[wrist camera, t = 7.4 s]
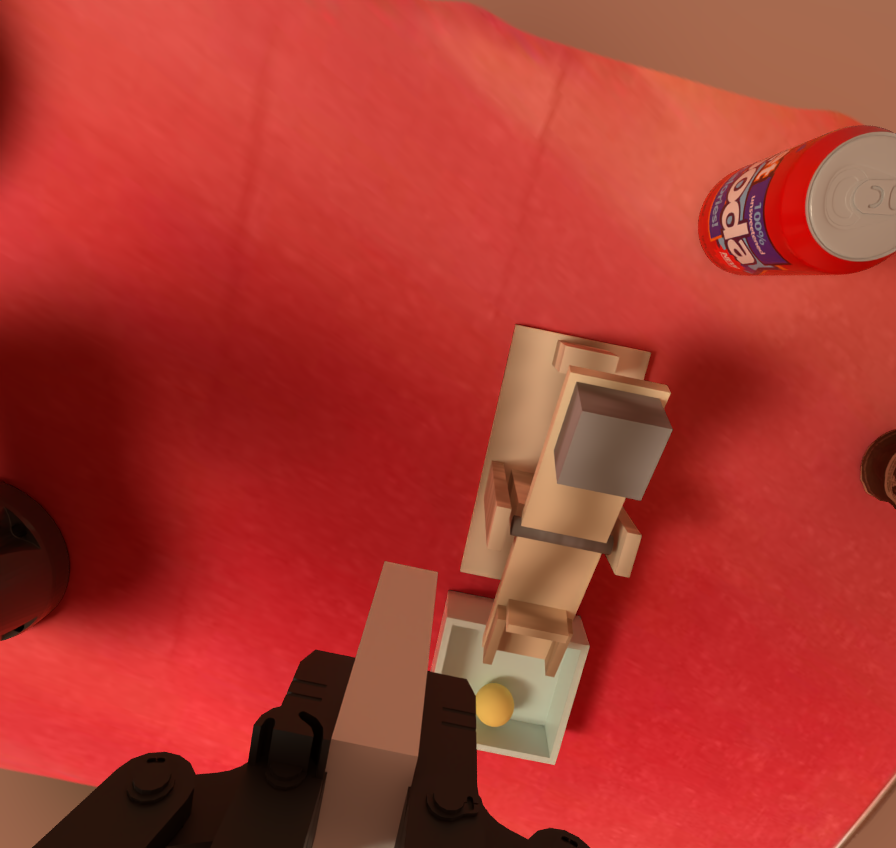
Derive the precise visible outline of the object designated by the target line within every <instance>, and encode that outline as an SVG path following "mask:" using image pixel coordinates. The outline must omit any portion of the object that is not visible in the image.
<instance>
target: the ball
mask: <svg viewBox="0 0 896 848" xmlns="http://www.w3.org/2000/svg"><path fill="white" fill-rule="evenodd" d="M513 711H514V700H513V697H512V694H511V693H510V691H509V690H508V689H507V688H506V687H505V686H503V685H501V684H498V683H489V684H486V685H484V686H483V687H482V688H481V689H480V690H479V691H478V692H477V694H476V714H477V716H478V718H479V719H480V720H481V721H482V722H483V723H484V724H486V725H488V726H491V727H499V726H502V725H504V724H506V723H507V722H508V721H509V720H510V718H511V717H512V714H513Z"/></svg>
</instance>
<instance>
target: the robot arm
mask: <svg viewBox="0 0 896 848" xmlns="http://www.w3.org/2000/svg"><path fill="white" fill-rule="evenodd" d="M437 577H438V572H435V571H430V570H425V569H420V568H416V567H411V566H406V565H401V564H396V563H391V562H387V561H385V562H384V565H383V568H382V572H381V575H380V578H379V582H378V585H377V588H376V592H375V595H374V598H373V602H372V605H371V608H370V612H369V615H368V618H367V622H366V625H365V628H364V632H363V635H362V638H361V642H360V645H359V648H358V652H357V655H356V658H354V657H349V656H344V655H339V654H334V653H329V652H325V651H320V650H315V651H313V652H312V653H311V654H310V655H308V656H307V657H306V658H305V659H303V660H302V661H301V662H300V664H299V666H298V669H297V671H296V673H295V676H294V678H293V681H292V682H291V685H290V687H289V689H288V691H287V695H286V696H285V698H284V701H283V703H282V705H281V706H280V707H276V708H273V709H271V710H269V711H268V712H266V713H264V714H262V715H261V716H260V718H259V719H258V720H257V721H256V723H255V724H254V727H253V733H252V740H251V746H250V753H249V759H248V762H247V763H246V764H244V765H243V766H241V767H238V768H235V769H233V770H230V771H225V772H219V773H209V774H197V775H195V772H194V770H193V768H192V766H191V763H190V762H188V761H187V760H185V759H184V758H183V757H181V756H180V755H176V754H172V753H168V752H157V753H147V754H145V755H142V756H139V757H136V758H133V759H131V760H130V761H128V762H127V763H125V764H124V765H122V766H121V767H119V768H118V769H117V770H116V771H115V772H114V773H112V774H111V775H110V776H109V777H108V778H107V779H106V780H105V781H104V782H103V783H102V784H101V785H99V786H98V787H97V788H96V789H95V790H94V791H93V792H92V793H91V794H90V795H89V796H88V797H87V798H86V799H85V800H83V801H82V802H81V803H80V804H79V805H78V806H77V807H76V808H75V809H73V810H72V811H71V812H70V813H69V814H68V815H67V816H66V817H65V818H64V819H63V820H62V821H60V822H59V823H58V824H57V825H56V826H55V827H54V828H53V829H52V830H51V831H50V832H49V833H48V834H46V836H44V837H43V838H42V839H41V840H40V841H39V842H38V843H37V844H36V845H35V846H33V847H32V848H590V847H589V846H588V845H587V844H586V843H584V842H583V841H582V840H581V839H580V838H579V837H577V836H575V835H573V834H571V833H569V832H567V831H565V830H560V829H554V828H548V829H544V830H539V831H537V832H536V833H535V834H534V835H533V836H531V837H530V838H529V840H528V839H526V838H524V837H522V836H520V835H519V834H517V833H515V832H513V831H511V830H509V829H507V828H506V827H504V826H503V825H501V824H500V823H498V822H497V821H496V820H495V819H494V818H493V817H492V816H491V815H490V814H489V813H488V811H487V810H486V809H485V807H484V806H483V803H482V799H481V798H480V796H479V794H478V788H477V741H476V695H475V694H474V692H473V690H472V688H471V686H470V684H469V682H468V680H467V679H464V678H459V677H454V676H450V675H445V674H440V673H435V672H430V671H427V669H428V660H429V650H430V641H431V632H432V623H433V613H434V604H435V595H436V586H437ZM68 579H69V557H68V552H67V548H66V545H65V542H64V539H63V537H62V535H61V533H60V531H59V529H58V527H57V525H56V524H55V522H54V521H53V520H52V518H51V517H50V516H49V514H48V513H47V512H46V511H45V510H44V509H43V508H42V507H41V506H40V505H39V504H38V503H37V502H36V501H35V500H33V499H32V498H31V497H29V496H28V495H27V494H25V493H23V492H22V491H20V490H18V489H17V488H15V487H13V486H10V485H8V484H6V483H3V482H0V641H2V640H6V639H9V638H11V637H14V636H17V635H19V634H21V633H23V632H25V631H26V630H28V629H29V628H31V627H32V626H34V625H35V624H36V623H37V622H39V621H40V620H41V619H43V618H44V617H45V616H46V615H48V614H49V613H50V612H51V611H52V610H53V609H54V608H55V607H56V606H57V604H58V603H59V602H60V600H61V598H62V597H63V595H64V592H65V590H66V587H67V583H68Z"/></svg>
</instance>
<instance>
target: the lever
mask: <svg viewBox="0 0 896 848" xmlns="http://www.w3.org/2000/svg"><path fill="white" fill-rule="evenodd" d="M670 394H671V392H670V390H669V388H668V386H667V385H664V384H659V383H654V382H650V381H645V380H640V379H635V378H630V377H625V376H620V375H616V374H611V373H606V372H601V371H596V370H591V369H587V368H582V367H577V366H572V365H569V367H568V370H567V373H566V377H565V380H564V383H563V386H562V389H561V392H560V395H559V399H558V402H557V405H556V408H555V411H554V414H553V417H552V421H551V424H550V427H549V430H548V433H547V436H546V439H545V443H544V446H543V449H542V452H541V455H540V458H539V461H538V465H537V468H536V471H535V474H534V477H533V480H532V483H531V486H530V490H529V493H528V496H527V499H526V502H525V505H524V508H523V512H522V515H521V516H516V515H514V516H513V518H512V522H511V527H510V535H513V536H515V537H514V540H513V543H512V546H511V549H510V552H509V556H508V559H507V562H506V565H505V568H504V571H503V574H502V578H501V581H500V584H499V587H498V590H497V593H496V596H495V599H494V603H493V606H492V609H491V612H490V615H489V618H488V621H487V625H486V628H485V631H484V634H483V638H482V647H484V650H483V663H484V664H489V665H492V662H493V659H494V656H495V654H496V651H497V650H499V651H504V652H509V653H514V654H519V655H524V656H529V657H534V658H539V659H544V660H545V676H550V677H555V674H556V672H557V670H558V667H559V665H560V663H561V661H562V658H563V656H564V654H565V651H566V649H567V647H568V645H569V642H570V640H571V638H572V635H573V628H572V622H573V619H574V617H575V615H576V612H577V610H578V608H579V605H580V603H581V601H582V599H583V596H584V594H585V592H586V589H587V587H588V585H589V582H590V580H591V578H592V575H593V573H594V571H595V568H596V566H597V564H598V561H599V559H600V557H601V554H607V555H610V554H611V552H612V549H613V543H614V539H613V535H610V533H611V531H612V529H613V526H614V524H615V522H616V519H617V517H618V515H619V512H620V510H621V508H622V505H623V503H624V501H625V498H630V499H635V500H640V501H641V499H642V497H643V495H644V493H645V490H646V488H647V486H648V484H649V482H650V479H651V477H652V475H653V473H654V470H655V468H656V466H657V464H658V461H659V459H660V457H661V455H662V453H663V450H664V448H665V446H666V444H667V441H668V439H669V437H670V435H671V432H672V430H673V429H672V426H671V424H670V422H669V420H668V417H667V415H666V413H665V410H664V408H665V405H666V403H667V401H668V398H669V396H670Z"/></svg>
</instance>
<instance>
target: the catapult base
mask: <svg viewBox="0 0 896 848" xmlns="http://www.w3.org/2000/svg"><path fill="white" fill-rule="evenodd" d="M650 355H651V353H650V352H648V351H643V350H638V349H633V348H628V347H624V346H619V345H614V344H609V343H604V342H599V341H595V340H590V339H585V338H580V337H575V336H570V335H566V334H561V333H556V332H551V331H546V330H541V329H536V328H532V327H527V326H522V325H517V324H515V329H514V333H513V337H512V342H511V346H510V351H509V355H508V360H507V364H506V368H505V373H504V377H503V382H502V386H501V390H500V395H499V399H498V404H497V408H496V413H495V417H494V421H493V426H492V430H491V435H490V439H489V444H488V448H487V452H486V457H485V461H484V466H483V470H482V474H481V479H480V483H479V488H478V492H477V497H476V501H475V505H474V510H473V514H472V519H471V523H470V528H469V532H468V536H467V541H466V545H465V550H464V554H463V558H462V563H461V567H460V572H464V573H469V574H474V575H479V576H484V577H489V578H494V579H499V580H501V578H502V574H503V571H504V568H505V565H506V562H507V559H508V556H509V552H510V549H511V546H512V543H513V540H514V537H515V536H513V535H510V527H511V522H512V518H513V516H514V515H516V516H521V515H522V512H523V508H524V505H525V502H526V499H527V496H528V493H529V490H530V486H531V483H532V480H533V477H534V474H535V471H536V468H537V465H538V461H539V458H540V455H541V452H542V449H543V446H544V443H545V439H546V436H547V433H548V430H549V427H550V424H551V421H552V417H553V414H554V411H555V408H556V405H557V402H558V399H559V395H560V392H561V389H562V386H563V383H564V380H565V377H566V373H567V370H568V367H569V365H572V366H577V367H582V368H587V369H591V370H596V371H601V372H606V373H611V374H616V375H620V376H625V377H630V378H635V379H640V380H644V376H645V373H646V369H647V366H648V362H649V359H650ZM610 535H613V539H614V543H613V549H612V552H611V554H610V555H607V554H605V555H606V557H607V559H608V561H609V563H610V565H611V568H612V570H613V572H614V574H615V575H618V576H623V577H628V578H629V577H630V574H631V570H632V567H633V564H634V560H635V557H636V554H637V551H638V547H639V544H640V541H641V537H642V535H641V533H640V532H639V530H638V529H637V527H636V526H635V524H634V523H633V521H632V520H631V518H630V517H629V515H628V514H627V512H626V511H625V509H624V508H623V506H622V508H621V510H620V512H619V515H618V517H617V519H616V522H615V524H614V526H613V529H612V531H611V533H610Z"/></svg>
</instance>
